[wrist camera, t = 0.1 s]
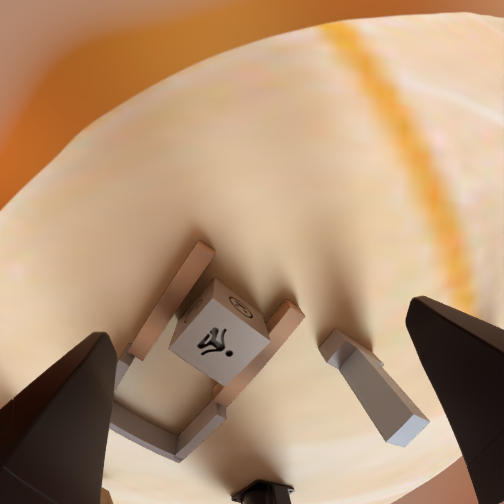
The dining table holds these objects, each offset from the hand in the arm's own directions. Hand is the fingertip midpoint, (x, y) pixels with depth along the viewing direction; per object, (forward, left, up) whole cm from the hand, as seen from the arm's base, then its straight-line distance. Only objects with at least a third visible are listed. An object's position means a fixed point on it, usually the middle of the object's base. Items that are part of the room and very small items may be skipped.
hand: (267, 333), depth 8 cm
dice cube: (-6, -2, -16) cm, 17 cm away
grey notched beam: (-2, -14, -15) cm, 21 cm away
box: (-17, -2, -15) cm, 23 cm away
